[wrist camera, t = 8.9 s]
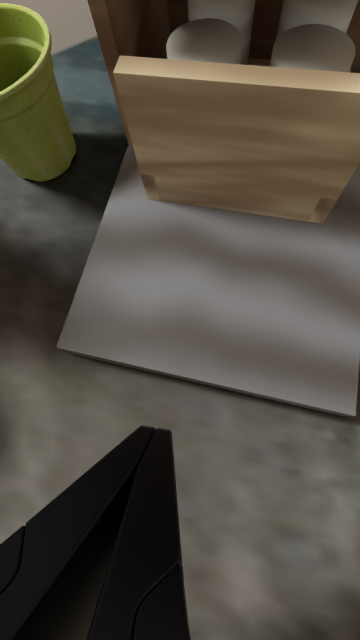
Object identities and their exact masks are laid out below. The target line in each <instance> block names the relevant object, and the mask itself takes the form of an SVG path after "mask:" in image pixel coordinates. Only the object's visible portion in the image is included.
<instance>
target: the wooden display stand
mask: <svg viewBox="0 0 360 640" xmlns="http://www.w3.org/2000/svg"><path fill="white" fill-rule="evenodd" d="M88 4H89V7H90V11H91V14H92V18H93V21H94V25H95V28H96V32H97V35H98V39H99V42H100V46H101V49H102V53H103V56H104V60H105V63H106V67H107V70H108V74H109V78H110V81H111V85H112V88H113V92H114V95H115V99H116V102H117V106H118V109H119V113H120V116H121V120H122V123H123V127H124V130H125V134H126V137H127V141H128V144H129V145H128V147H127V150H126V153H125V156H124V159H123V161H122V164H121V167H120V170H119V173H118V175H117V178H116V181H115V184H114V187H113V189H112V192H111V195H110V198H109V201H108V203H107V206H106V209H105V212H104V215H103V218H102V220H101V223H100V226H99V229H98V232H97V234H96V237H95V240H94V243H93V246H92V248H91V251H90V254H89V257H88V260H87V262H86V265H85V268H84V271H83V274H82V276H81V279H80V282H79V285H78V288H77V290H76V293H75V296H74V299H73V302H72V304H71V307H70V310H69V313H68V316H67V318H66V321H65V324H64V327H63V330H62V332H61V335H60V338H59V341H58V344H57V346H56V348H59V349H61V350H63V351H65V352H67V353H70V354H74V355H79V356H83V357H87V358H92V359H96V360H100V361H105V362H109V363H113V364H118V365H122V366H126V367H131V368H135V369H139V370H144V371H148V372H152V373H157V374H161V375H165V376H169V377H174V378H178V379H182V380H187V381H191V382H195V383H200V384H204V385H208V386H213V387H217V388H221V389H226V390H230V391H234V392H239V393H243V394H247V395H252V396H256V397H260V398H265V399H269V400H273V401H278V402H282V403H286V404H291V405H295V406H299V407H304V408H308V409H312V410H317V411H321V412H325V413H330V414H334V415H338V416H356V405H357V390H358V376H359V361H360V163H359V165H358V166H357V168H356V170H355V171H354V173H353V175H352V176H351V178H350V180H349V181H348V183H347V185H346V186H345V188H344V189H343V191H342V193H341V194H340V196H339V198H338V199H337V201H336V203H335V204H334V206H333V208H332V209H331V211H330V212H329V214H328V216H327V217H326V219H325V221H324V222H323V224H321V223H314V222H307V221H300V220H293V219H286V218H279V217H272V216H265V215H258V214H252V213H245V212H238V211H231V210H224V209H217V208H210V207H203V206H196V205H189V204H182V203H175V202H168V201H161V200H154V199H147V197H146V193H145V189H144V186H143V182H142V178H141V174H140V171H139V167H138V163H137V160H136V156H135V152H134V149H133V145H132V141H131V137H130V134H129V130H128V126H127V123H126V119H125V115H124V112H123V108H122V104H121V100H120V97H119V93H118V89H117V86H116V82H115V78H114V75H113V71H114V69H115V66H116V64H117V62H118V59H119V57H120V56H134V57H147V58H161V59H167V50H166V45H167V41H168V38H169V37H170V35H171V34H172V33H173V31H175V30H176V29H177V28H178V27H180V26H181V25H183V24H185V23H187V22H189V19H188V0H88ZM282 5H283V0H255V7H254V15H253V24H252V32H251V40H250V49H249V57H248V58H253V59H267V60H271V56H272V50H273V46H274V43H275V42H276V37H277V31H278V26H279V21H280V15H281V10H282ZM346 34H347V35H348V36H349V37H350V38H351V40H352V41H353V43H354V45H355V57H354V60H353V62H352V64H351V73H360V0H358V2H357V5H356V8H355V10H354V13H353V16H352V18H351V21H350V24H349V27H348V29H347V32H346Z"/></svg>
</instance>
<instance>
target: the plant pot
mask: <svg viewBox="0 0 360 640" xmlns="http://www.w3.org/2000/svg"><path fill="white" fill-rule="evenodd" d="M50 51H51V35H50V32H49V29H48V27H47V25H46V23H45V21H44V20H43V19H42V17H41V16H40V15H38V14H37V13H36V12H34V11H32V10H31V9H29V8H25V7H23V6H19V5H15V4H7V3H5V4H3V3H0V158H1V159H2V160H3V161H4V162H5V163H6V164H7V165H8V166H9V167H10V168H11V169H12V170H13V171H14V172H15V173H17V174H18V175H19V176H20V177H22V178H24V179H31V180H35V181H38V182H42V181H47V180H51V179H54V178H56V177H58V176H59V175H61V174H62V173H64V172H65V171H66V170H67V169H68V168H69V167H70V164H71V161H72V158H73V156H74V155H75V154H76V144H75V141H74V138H73V135H72V131H71V128H70V125H69V122H68V119H67V116H66V113H65V109H64V106H63V103H62V100H61V96H60V93H59V89H58V86H57V83H56V79H55V76H54V72H53V60H52V56H51V53H50Z"/></svg>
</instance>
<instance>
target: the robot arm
mask: <svg viewBox="0 0 360 640" xmlns="http://www.w3.org/2000/svg"><path fill="white" fill-rule="evenodd" d="M0 640H191V637H190V631H189V625H188V617H187V607H186V598H185V589H184V577H183V567H182V555H181V542H180V530H179V517H178V505H177V492H176V480H175V467H174V455H173V442H172V432H171V430H167V429H161V428H158V429H156V428H154V427H149V426H140V427H139V428H137V429H136V430H135V431H134V432H133V433H132V434H130V435H129V436H128V437H127V438H126V439H125V440H123V441H122V442H121V443H120V444H119V445H117V446H116V447H115V448H114V449H113V450H112V451H110V452H109V453H108V454H107V455H106V456H104V457H103V458H102V459H101V460H100V461H99V462H97V463H96V464H95V465H94V466H93V467H92V468H90V469H89V470H88V471H87V472H86V473H84V474H83V475H82V476H81V477H80V478H79V479H77V480H76V481H75V482H74V483H73V484H71V485H70V486H69V487H68V488H67V489H66V490H64V491H63V492H62V493H61V494H60V495H58V496H57V497H56V498H55V499H54V500H53V501H51V502H50V503H49V504H48V505H47V506H46V507H44V508H43V509H42V510H41V511H40V512H38V513H37V514H36V515H35V516H34V517H33V518H31V519H30V520H29V521H28V522H27V523H26V526H22V527H21V528H19V529H18V530H17V531H16V532H15V533H13V534H12V535H11V536H10V537H9V538H8V539H6V540H5V541H4V542H3V543H2V544H0Z"/></svg>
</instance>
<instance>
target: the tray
mask: <svg viewBox="0 0 360 640" xmlns="http://www.w3.org/2000/svg"><path fill="white" fill-rule="evenodd" d="M357 2H358V0H283V5H282V10H281V15H280V21H279V26H278V31H277V37H276V42H275V43H274V46H273V50H272V56H271V60H267V59H253V58H248V57H249V49H250V40H251V32H252V24H253V15H254V7H255V0H188V19H189V22H187V23H185V24H183V25H181V26H180V27H178V28H177V29H176V30H175V31H173V33H172V34H171V35H170V37H169V38H168V41H167V45H166V50H167V59H161V58H147V57H134V56H120V57H119V59H118V62H117V64H116V66H115V69H114V71H113V75H114V78H115V82H116V86H117V89H118V93H119V97H120V100H121V104H122V108H123V112H124V115H125V119H126V123H127V126H128V130H129V134H130V137H131V141H132V145H133V149H134V152H135V156H136V160H137V163H138V167H139V171H140V174H141V178H142V182H143V186H144V189H145V193H146V197H147V199H154V200H161V201H168V202H175V203H182V204H189V205H196V206H203V207H210V208H217V209H224V210H231V211H238V212H245V213H252V214H258V215H265V216H272V217H279V218H286V219H293V220H300V221H307V222H314V223H321V224H323V222H324V221H325V219H326V217H327V216H328V214H329V212H330V211H331V209H332V208H333V206H334V204H335V203H336V201H337V199H338V198H339V196H340V194H341V193H342V191H343V189H344V188H345V186H346V185H347V183H348V181H349V180H350V178H351V176H352V175H353V173H354V171H355V170H356V168H357V166H358V165H359V163H360V73H351V64H352V62H353V60H354V57H355V45H354V43H353V41H352V40H351V38H350V37H349V36H348V35H347V34H346V32H347V29H348V27H349V24H350V21H351V18H352V16H353V13H354V10H355V8H356V5H357Z"/></svg>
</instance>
